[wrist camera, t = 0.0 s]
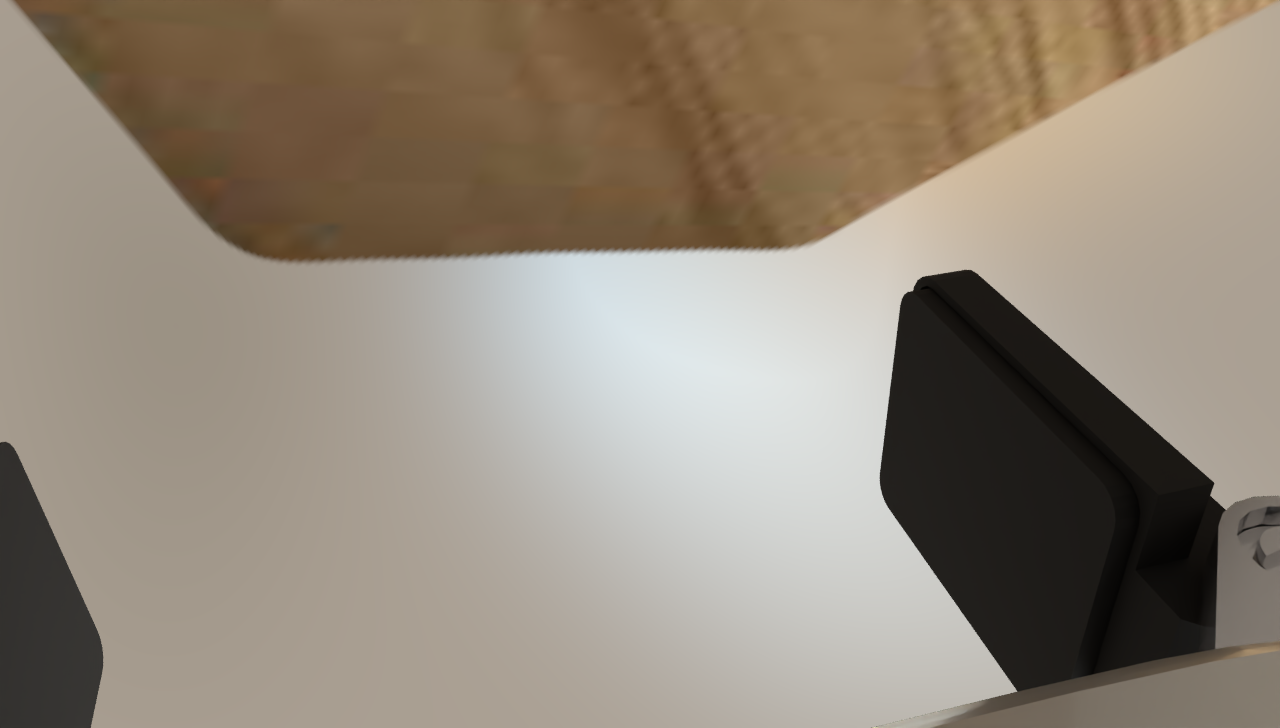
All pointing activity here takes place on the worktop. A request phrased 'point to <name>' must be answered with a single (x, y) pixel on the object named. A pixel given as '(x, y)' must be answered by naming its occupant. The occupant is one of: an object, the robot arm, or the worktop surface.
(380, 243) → the worktop surface
